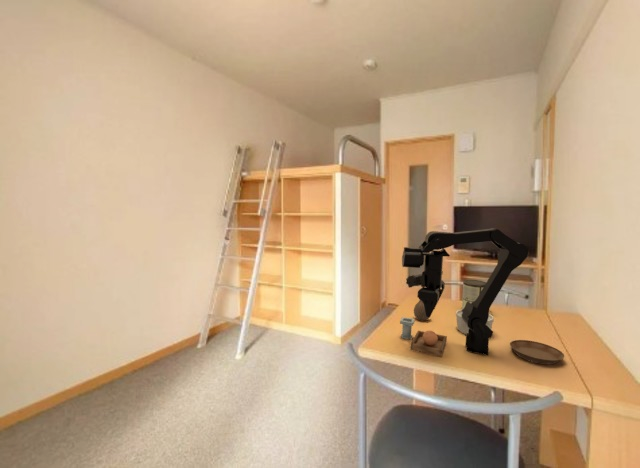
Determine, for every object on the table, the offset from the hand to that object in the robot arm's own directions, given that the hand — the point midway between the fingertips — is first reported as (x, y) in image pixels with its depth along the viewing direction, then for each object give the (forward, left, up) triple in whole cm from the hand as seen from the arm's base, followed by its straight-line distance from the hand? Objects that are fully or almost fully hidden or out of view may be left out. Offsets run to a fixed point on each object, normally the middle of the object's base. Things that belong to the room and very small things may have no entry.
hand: (430, 313), depth 109 cm
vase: (+7, -26, -12) cm, 29 cm away
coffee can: (-12, -49, -12) cm, 51 cm away
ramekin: (-13, -23, -12) cm, 29 cm away
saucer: (-32, -11, -12) cm, 36 cm away
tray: (0, 0, -12) cm, 12 cm away
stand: (+8, -4, -12) cm, 15 cm away
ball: (0, 0, -9) cm, 9 cm away
